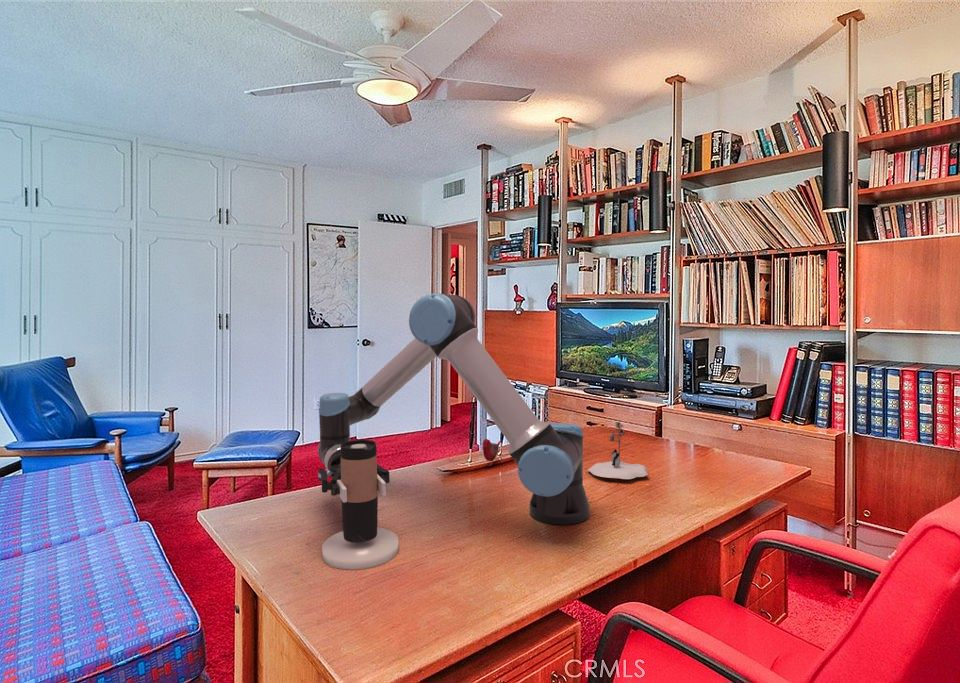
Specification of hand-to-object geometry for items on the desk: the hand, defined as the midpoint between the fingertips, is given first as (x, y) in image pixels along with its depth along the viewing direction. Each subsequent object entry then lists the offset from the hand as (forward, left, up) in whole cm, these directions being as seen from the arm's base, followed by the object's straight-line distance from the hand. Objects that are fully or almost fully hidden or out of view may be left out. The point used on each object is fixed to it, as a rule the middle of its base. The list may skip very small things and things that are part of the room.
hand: (364, 492), depth 109 cm
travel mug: (+4, -3, -11) cm, 12 cm away
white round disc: (+4, -3, -14) cm, 15 cm away
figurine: (-31, -82, -15) cm, 89 cm away
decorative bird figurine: (+9, -73, -15) cm, 75 cm away
